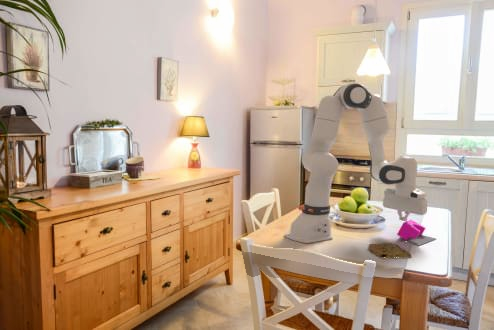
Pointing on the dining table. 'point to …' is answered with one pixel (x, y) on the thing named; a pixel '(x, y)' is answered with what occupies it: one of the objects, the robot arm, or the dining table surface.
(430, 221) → the dining table surface
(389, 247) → the pastry
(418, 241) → the mat
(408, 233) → the toy block
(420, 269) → the dining table surface
